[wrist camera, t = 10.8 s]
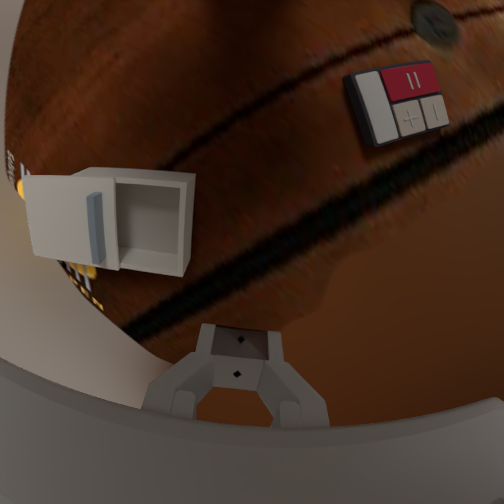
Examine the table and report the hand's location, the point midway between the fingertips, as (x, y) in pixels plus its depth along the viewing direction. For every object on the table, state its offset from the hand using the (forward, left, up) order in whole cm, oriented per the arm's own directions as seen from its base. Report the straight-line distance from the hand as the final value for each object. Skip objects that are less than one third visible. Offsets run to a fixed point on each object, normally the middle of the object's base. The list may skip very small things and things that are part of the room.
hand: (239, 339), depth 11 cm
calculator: (-16, +20, -34) cm, 42 cm away
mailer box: (+8, -17, -33) cm, 38 cm away
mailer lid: (+8, -27, -27) cm, 39 cm away
